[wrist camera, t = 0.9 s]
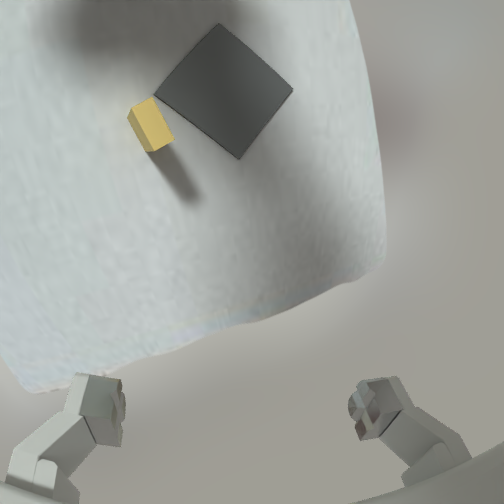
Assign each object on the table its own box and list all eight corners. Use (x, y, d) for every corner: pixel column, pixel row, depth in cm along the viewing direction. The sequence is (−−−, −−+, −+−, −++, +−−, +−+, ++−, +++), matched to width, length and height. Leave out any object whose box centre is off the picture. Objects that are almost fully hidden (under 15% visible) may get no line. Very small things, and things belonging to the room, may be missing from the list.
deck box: (145, 151, 39) (154, 151, 30) (127, 117, 36) (131, 108, 28) (161, 142, 39) (174, 139, 31) (143, 108, 37) (152, 96, 28)
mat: (153, 94, 36) (153, 93, 36) (218, 24, 36) (219, 23, 36) (238, 159, 44) (239, 159, 44) (291, 89, 44) (293, 88, 44)
